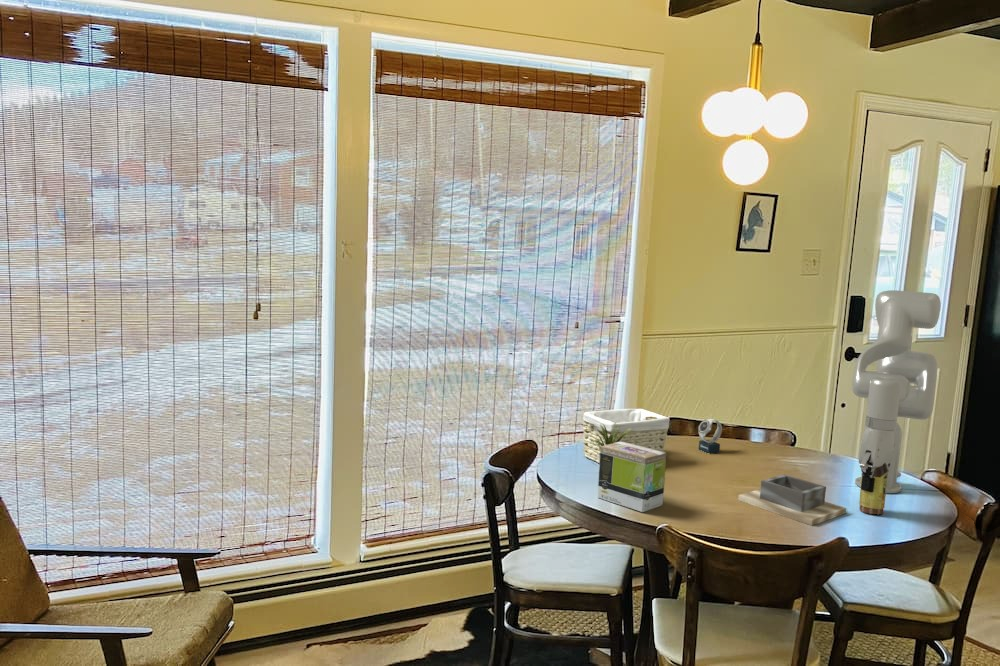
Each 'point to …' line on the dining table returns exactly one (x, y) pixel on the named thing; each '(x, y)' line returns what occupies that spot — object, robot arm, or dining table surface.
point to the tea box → (632, 476)
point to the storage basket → (624, 429)
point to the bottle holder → (793, 499)
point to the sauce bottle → (875, 492)
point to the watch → (711, 445)
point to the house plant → (610, 439)
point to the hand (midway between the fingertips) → (873, 488)
